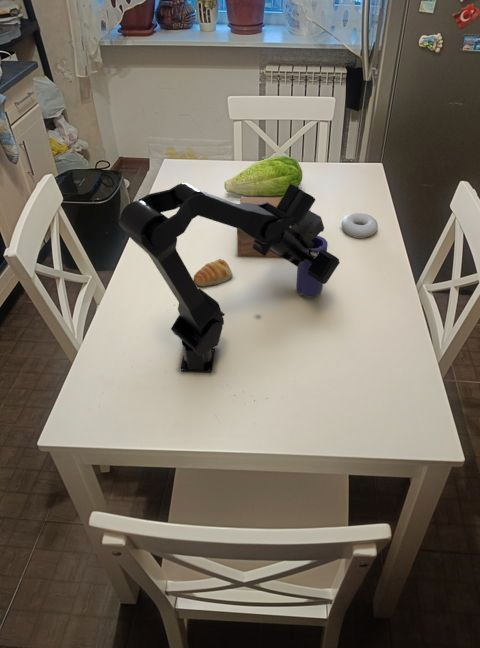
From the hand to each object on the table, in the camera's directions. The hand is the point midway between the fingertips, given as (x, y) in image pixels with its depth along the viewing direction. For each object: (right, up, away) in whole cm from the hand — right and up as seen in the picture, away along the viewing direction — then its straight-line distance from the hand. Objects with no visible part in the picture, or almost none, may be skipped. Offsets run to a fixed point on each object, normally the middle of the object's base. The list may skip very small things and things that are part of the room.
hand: (315, 263), depth 118 cm
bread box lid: (-11, +14, +14) cm, 23 cm away
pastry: (-24, -3, +9) cm, 26 cm away
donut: (+15, +12, +25) cm, 32 cm away
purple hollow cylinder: (-1, -5, +4) cm, 7 cm away
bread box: (-11, +8, +21) cm, 25 cm away
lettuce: (-12, +27, +41) cm, 50 cm away
